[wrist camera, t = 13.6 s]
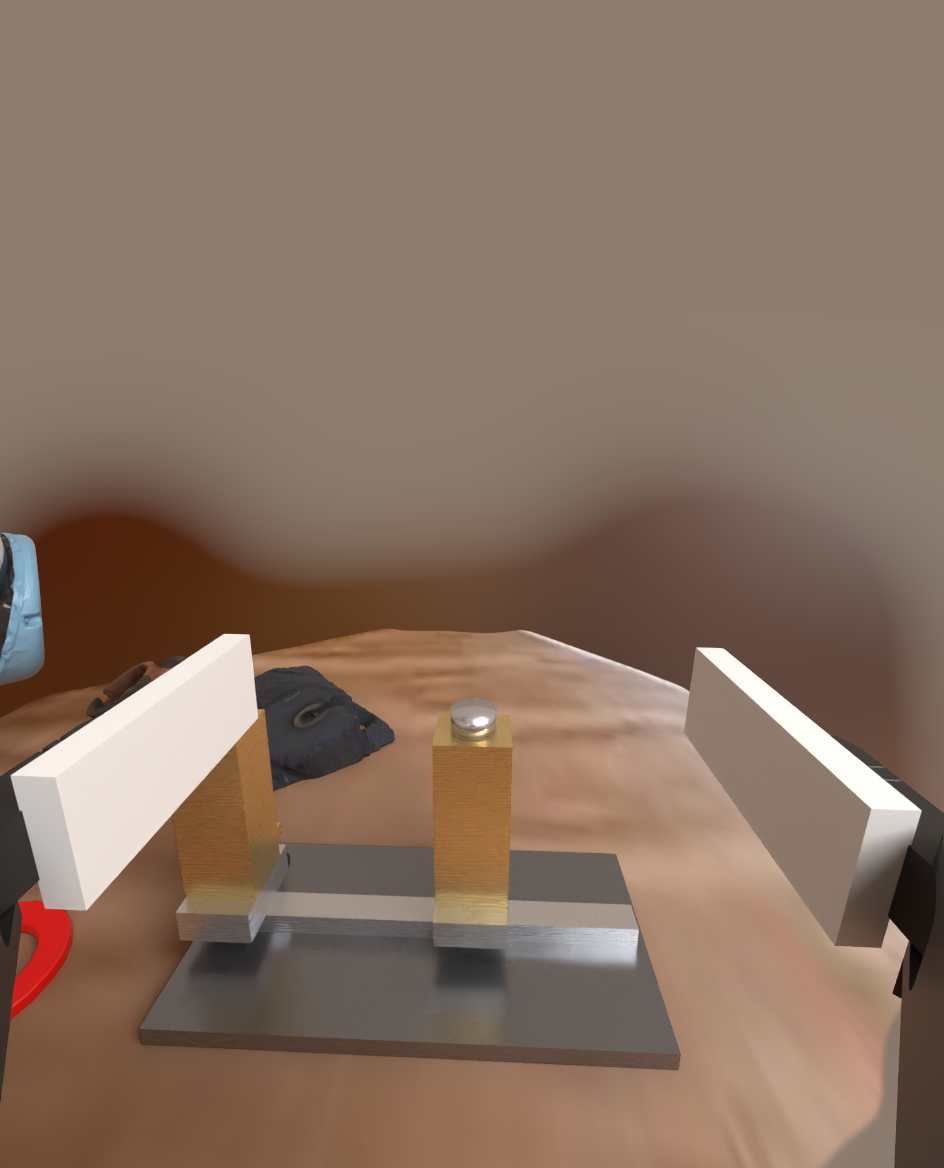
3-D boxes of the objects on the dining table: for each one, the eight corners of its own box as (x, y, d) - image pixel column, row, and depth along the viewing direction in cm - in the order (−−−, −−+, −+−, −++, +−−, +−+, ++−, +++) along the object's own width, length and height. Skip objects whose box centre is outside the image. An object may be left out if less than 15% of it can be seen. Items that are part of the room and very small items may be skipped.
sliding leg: (433, 960, 26) (429, 733, 23) (445, 854, 33) (444, 669, 30) (507, 964, 26) (514, 735, 23) (503, 856, 33) (508, 671, 30)
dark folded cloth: (326, 676, 66) (324, 643, 65) (405, 750, 49) (403, 708, 48) (200, 708, 57) (195, 671, 56) (242, 813, 40) (236, 763, 39)
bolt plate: (142, 1044, 24) (84, 770, 20) (256, 853, 35) (233, 658, 32) (678, 1069, 23) (720, 788, 19) (614, 865, 34) (633, 666, 31)
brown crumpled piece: (197, 750, 49) (136, 697, 45) (121, 785, 50) (54, 736, 46) (235, 674, 59) (188, 625, 55) (171, 704, 60) (120, 658, 56)
